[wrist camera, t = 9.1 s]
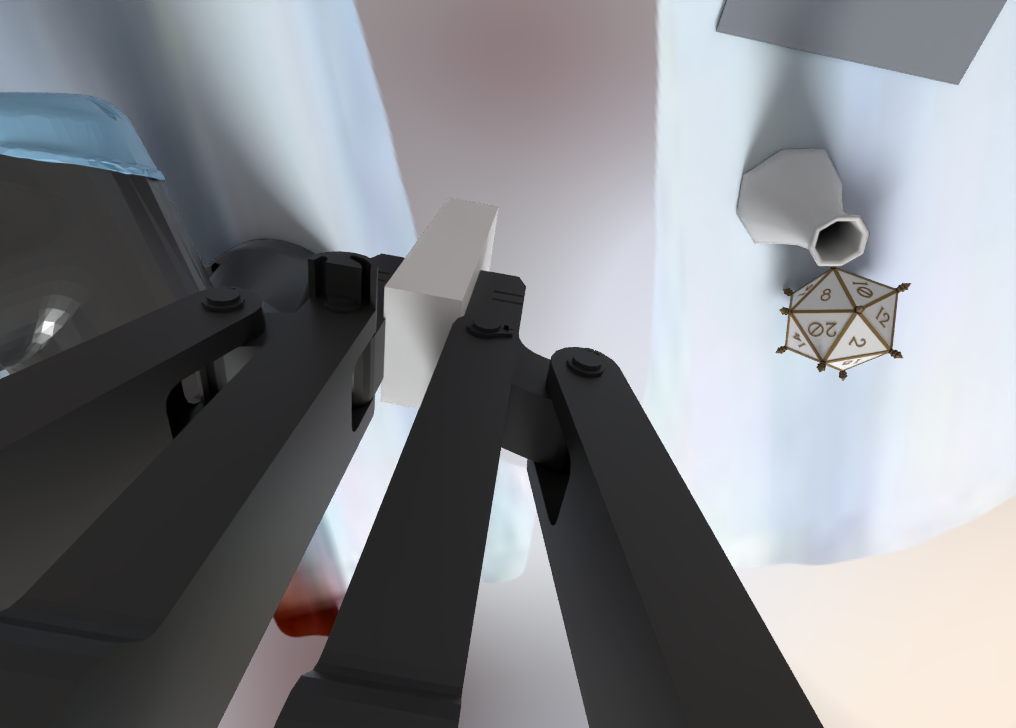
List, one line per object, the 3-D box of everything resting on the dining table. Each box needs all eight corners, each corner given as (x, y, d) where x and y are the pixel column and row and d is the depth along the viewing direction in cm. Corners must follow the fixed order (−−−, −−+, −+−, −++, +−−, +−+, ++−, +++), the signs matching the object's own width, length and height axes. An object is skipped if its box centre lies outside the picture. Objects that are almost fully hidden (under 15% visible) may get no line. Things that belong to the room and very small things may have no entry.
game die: (789, 299, 48) (752, 388, 44) (797, 225, 42) (755, 320, 38) (910, 320, 43) (881, 421, 39) (940, 239, 37) (909, 351, 33)
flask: (843, 226, 41) (910, 278, 32) (743, 255, 43) (781, 311, 34) (835, 129, 37) (908, 159, 29) (727, 166, 39) (765, 203, 31)
